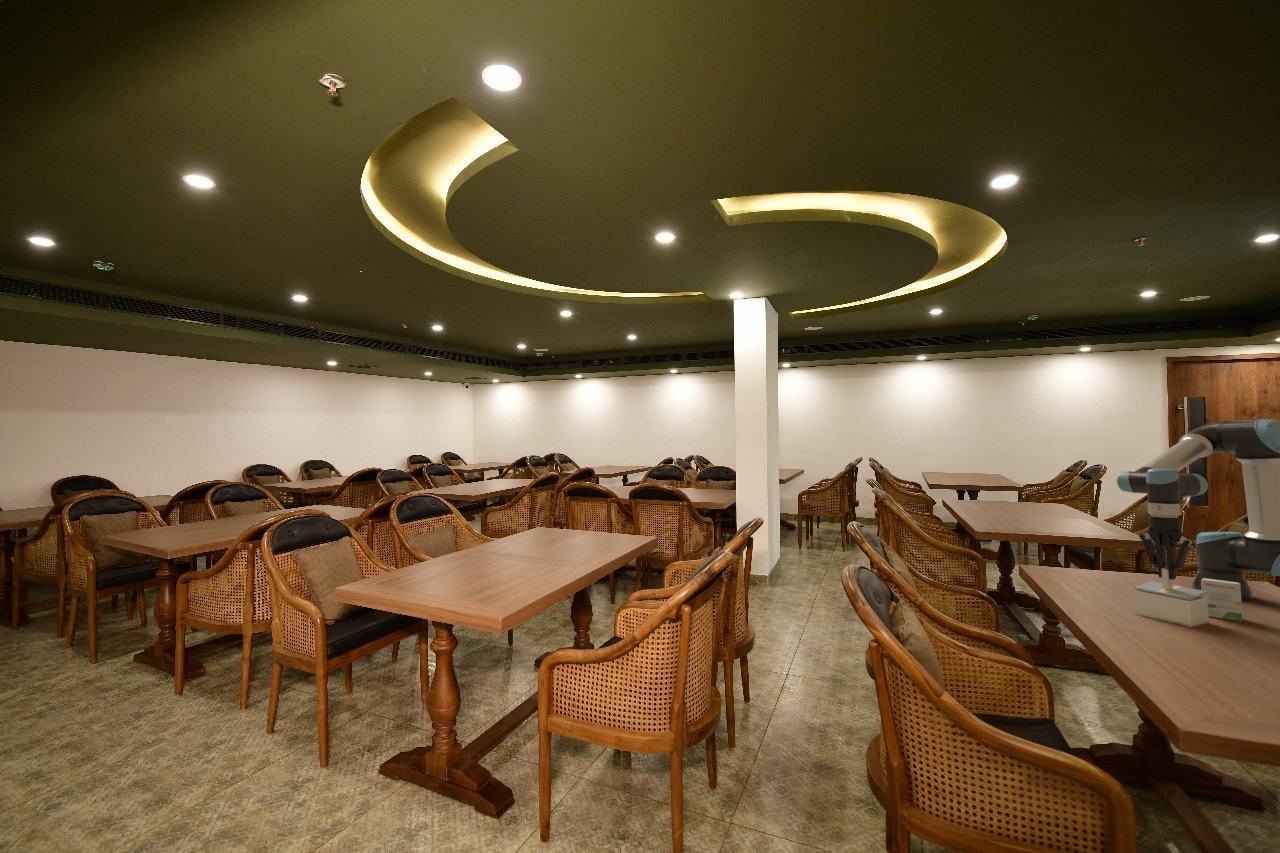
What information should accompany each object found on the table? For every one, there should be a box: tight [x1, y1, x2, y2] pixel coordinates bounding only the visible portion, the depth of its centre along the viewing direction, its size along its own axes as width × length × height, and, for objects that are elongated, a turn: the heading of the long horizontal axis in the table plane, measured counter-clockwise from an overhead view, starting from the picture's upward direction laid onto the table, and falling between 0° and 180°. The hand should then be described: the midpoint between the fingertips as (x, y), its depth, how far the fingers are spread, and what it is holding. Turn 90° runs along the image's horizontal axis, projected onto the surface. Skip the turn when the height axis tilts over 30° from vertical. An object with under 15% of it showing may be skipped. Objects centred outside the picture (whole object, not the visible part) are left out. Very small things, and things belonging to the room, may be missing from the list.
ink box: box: [1201, 578, 1243, 623], centre depth 172 cm, size 8×5×12 cm, turn 38°
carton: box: [1133, 589, 1210, 628], centre depth 172 cm, size 10×14×8 cm
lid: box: [1133, 580, 1207, 600], centre depth 172 cm, size 10×14×1 cm
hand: (1167, 588), depth 171 cm, fingers closed
